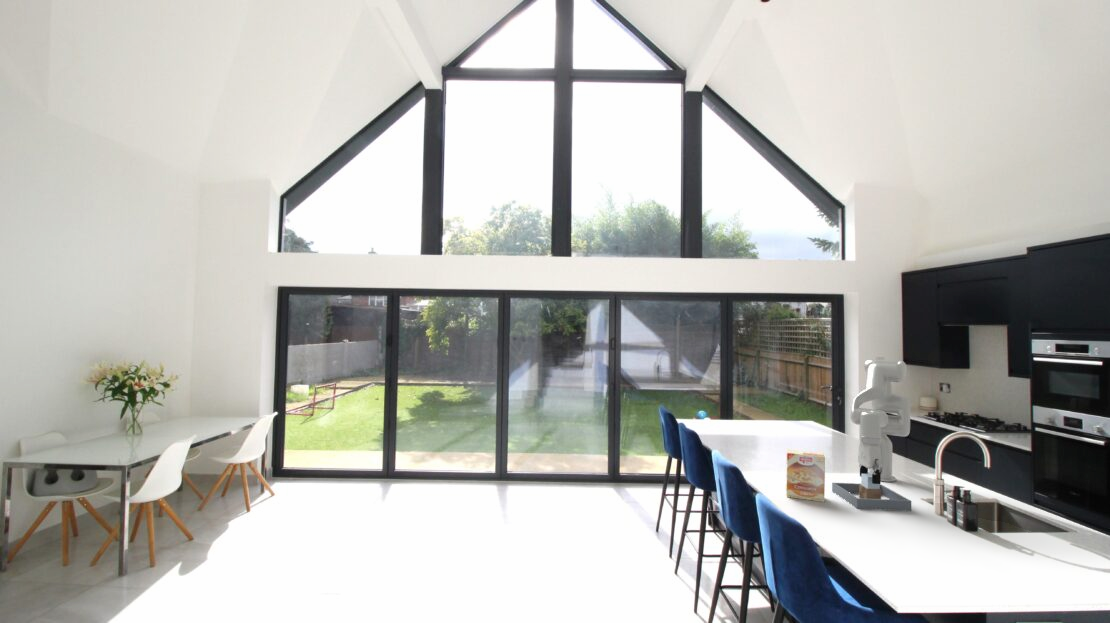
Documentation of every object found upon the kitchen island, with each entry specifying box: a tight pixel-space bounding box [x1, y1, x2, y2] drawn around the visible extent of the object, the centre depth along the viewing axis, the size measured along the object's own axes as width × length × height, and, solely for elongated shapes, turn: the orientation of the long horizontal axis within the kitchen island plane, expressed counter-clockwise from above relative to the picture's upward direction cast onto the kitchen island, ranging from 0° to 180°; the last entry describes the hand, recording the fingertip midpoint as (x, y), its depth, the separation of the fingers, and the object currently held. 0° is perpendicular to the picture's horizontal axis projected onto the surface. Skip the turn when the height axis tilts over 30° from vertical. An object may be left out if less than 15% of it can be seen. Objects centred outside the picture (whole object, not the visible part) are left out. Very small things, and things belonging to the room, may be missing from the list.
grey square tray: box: [831, 482, 912, 512], centre depth 223 cm, size 22×22×4 cm
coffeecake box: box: [785, 449, 826, 503], centre depth 225 cm, size 15×7×20 cm, turn 68°
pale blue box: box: [860, 474, 881, 489], centre depth 223 cm, size 5×5×5 cm
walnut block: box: [858, 483, 882, 499], centre depth 223 cm, size 6×6×6 cm
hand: (869, 480), depth 223 cm, fingers open, 9 cm apart
